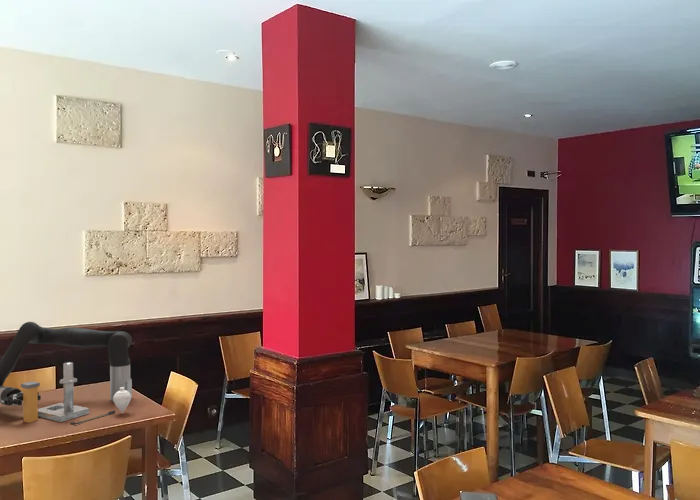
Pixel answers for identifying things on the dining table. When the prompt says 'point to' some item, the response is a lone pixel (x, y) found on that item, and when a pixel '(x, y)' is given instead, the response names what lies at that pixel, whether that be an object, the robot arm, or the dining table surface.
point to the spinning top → (122, 399)
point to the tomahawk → (92, 418)
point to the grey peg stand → (67, 408)
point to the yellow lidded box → (30, 401)
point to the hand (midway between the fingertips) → (30, 400)
